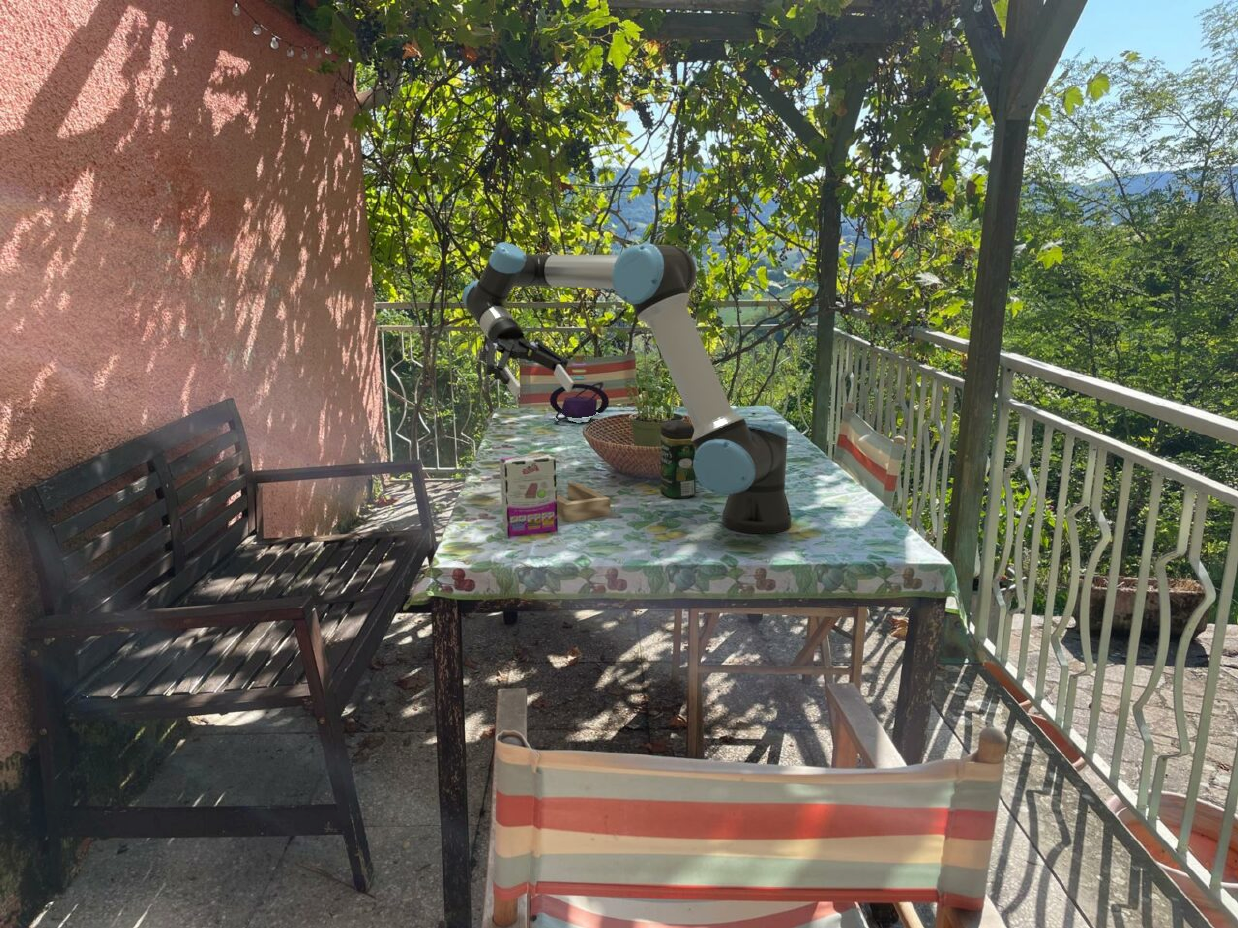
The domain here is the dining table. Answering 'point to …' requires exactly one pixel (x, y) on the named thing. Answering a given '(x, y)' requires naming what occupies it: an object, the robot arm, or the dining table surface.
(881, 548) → the dining table surface
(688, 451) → the coffee jar
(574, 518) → the frame
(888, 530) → the dining table surface
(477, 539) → the dining table surface
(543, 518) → the candy bar box
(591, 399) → the purple handbag
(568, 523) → the mat
